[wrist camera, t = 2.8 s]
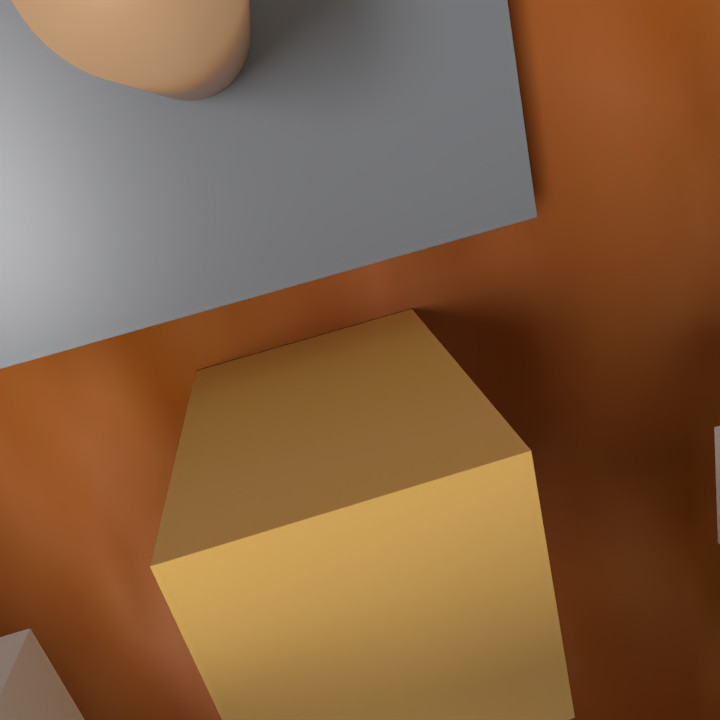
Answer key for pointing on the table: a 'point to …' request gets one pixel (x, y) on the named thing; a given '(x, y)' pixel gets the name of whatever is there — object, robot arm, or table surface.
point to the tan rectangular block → (360, 538)
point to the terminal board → (239, 151)
